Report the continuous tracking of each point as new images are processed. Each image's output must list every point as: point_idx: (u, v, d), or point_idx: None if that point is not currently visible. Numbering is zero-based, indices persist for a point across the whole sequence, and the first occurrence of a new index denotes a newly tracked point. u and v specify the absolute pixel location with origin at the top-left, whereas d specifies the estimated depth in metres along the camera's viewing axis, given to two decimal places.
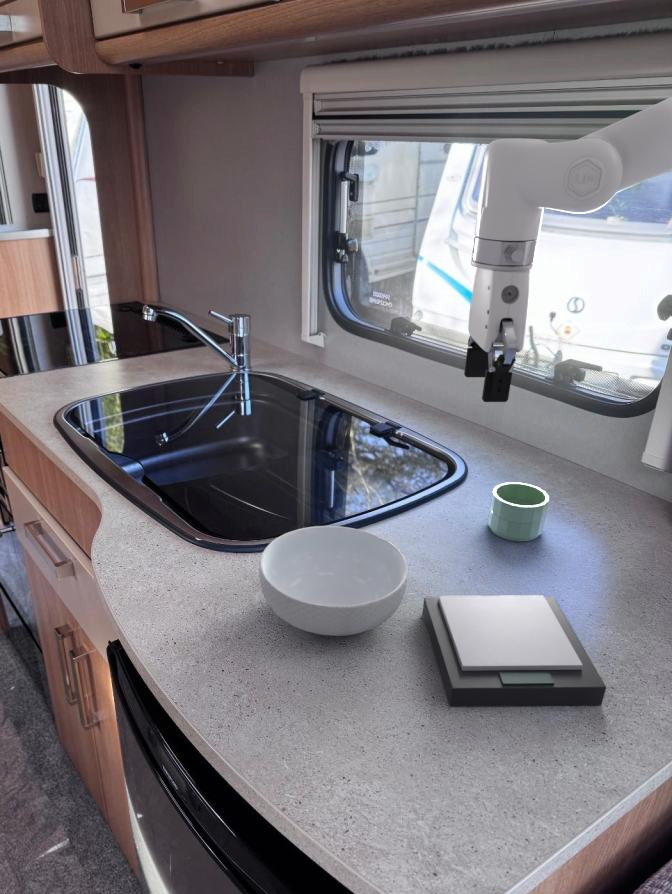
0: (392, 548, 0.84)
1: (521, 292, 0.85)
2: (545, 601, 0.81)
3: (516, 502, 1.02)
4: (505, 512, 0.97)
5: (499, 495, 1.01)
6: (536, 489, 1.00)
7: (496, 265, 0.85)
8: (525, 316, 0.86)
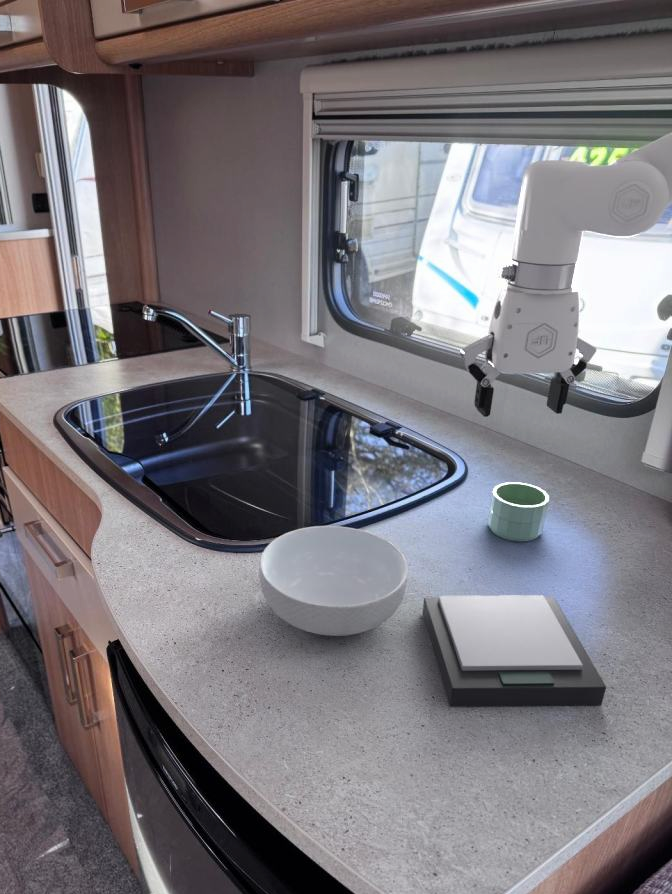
0: (392, 547, 0.84)
1: (502, 310, 0.86)
2: (545, 601, 0.81)
3: (516, 502, 1.02)
4: (505, 512, 0.97)
5: (499, 495, 1.01)
6: (536, 489, 1.00)
7: (507, 281, 0.87)
8: (501, 335, 0.87)
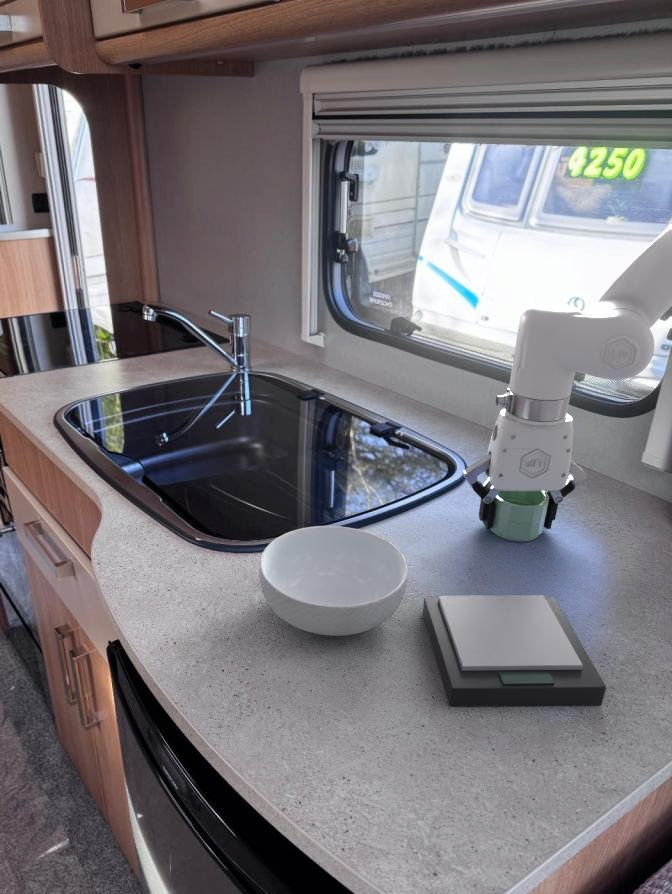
0: (392, 548, 0.84)
1: (498, 434, 0.93)
2: (545, 601, 0.81)
3: (516, 502, 1.02)
4: (505, 512, 0.97)
5: (499, 495, 1.01)
6: None
7: None
8: (496, 457, 0.93)
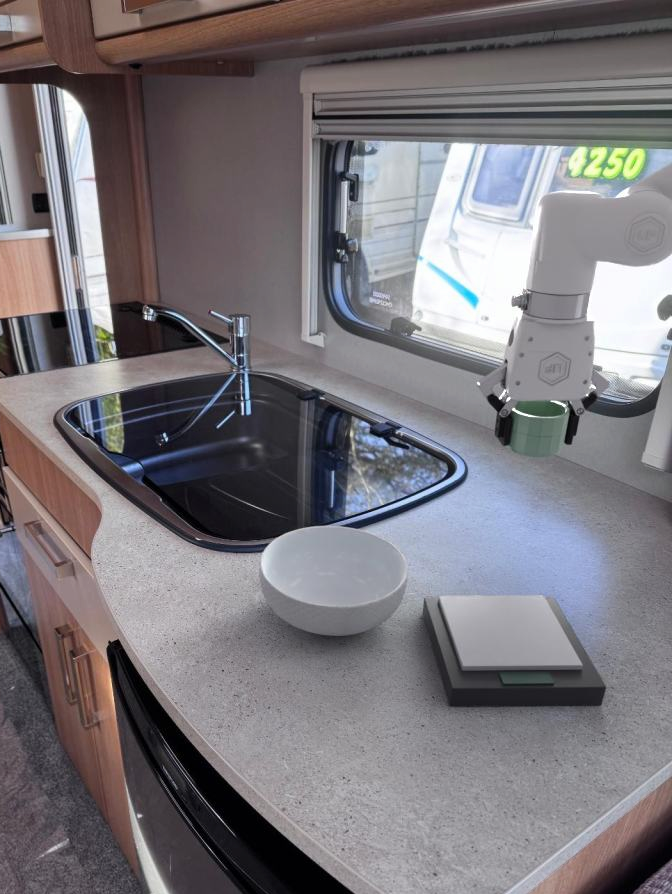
0: (392, 548, 0.84)
1: (514, 338, 0.87)
2: (545, 601, 0.81)
3: None
4: (523, 425, 0.91)
5: None
6: (555, 403, 0.94)
7: None
8: (513, 363, 0.87)
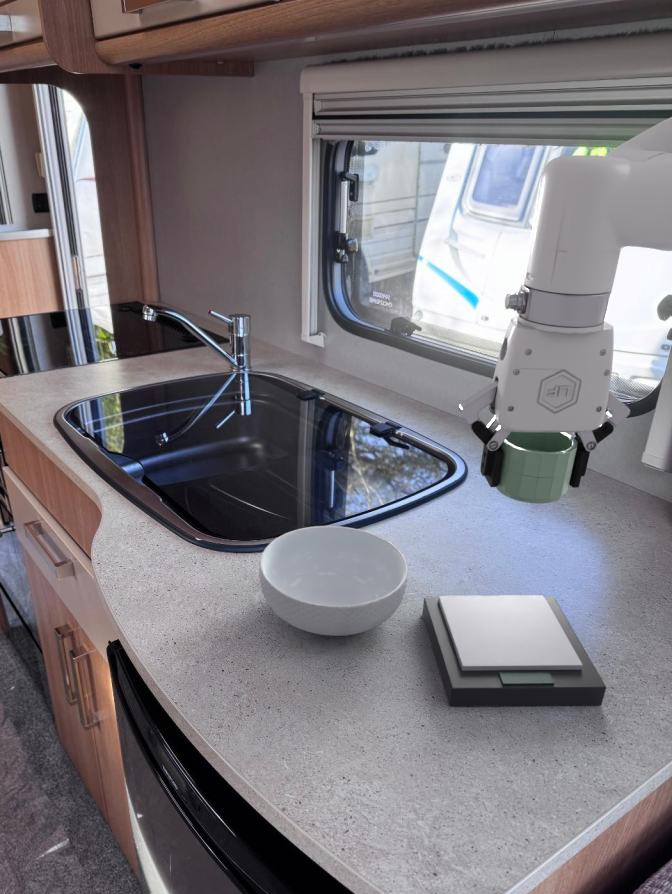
0: (392, 548, 0.84)
1: (508, 350, 0.66)
2: (545, 601, 0.81)
3: None
4: (516, 461, 0.70)
5: (508, 442, 0.75)
6: (559, 433, 0.73)
7: None
8: (505, 383, 0.67)
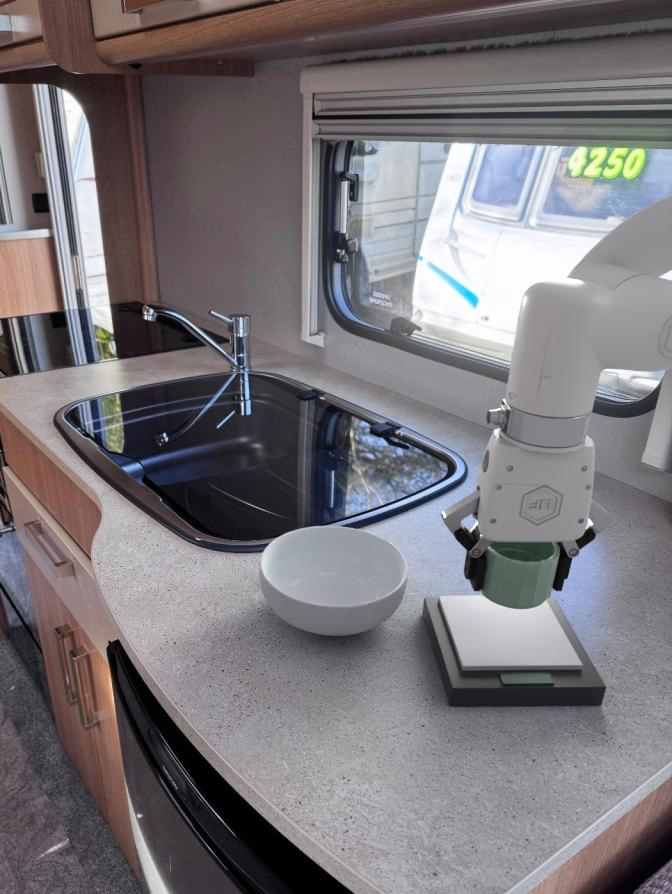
0: (392, 548, 0.84)
1: (489, 465, 0.66)
2: (545, 601, 0.81)
3: (515, 552, 0.76)
4: (499, 569, 0.70)
5: (492, 543, 0.75)
6: None
7: None
8: (487, 496, 0.67)
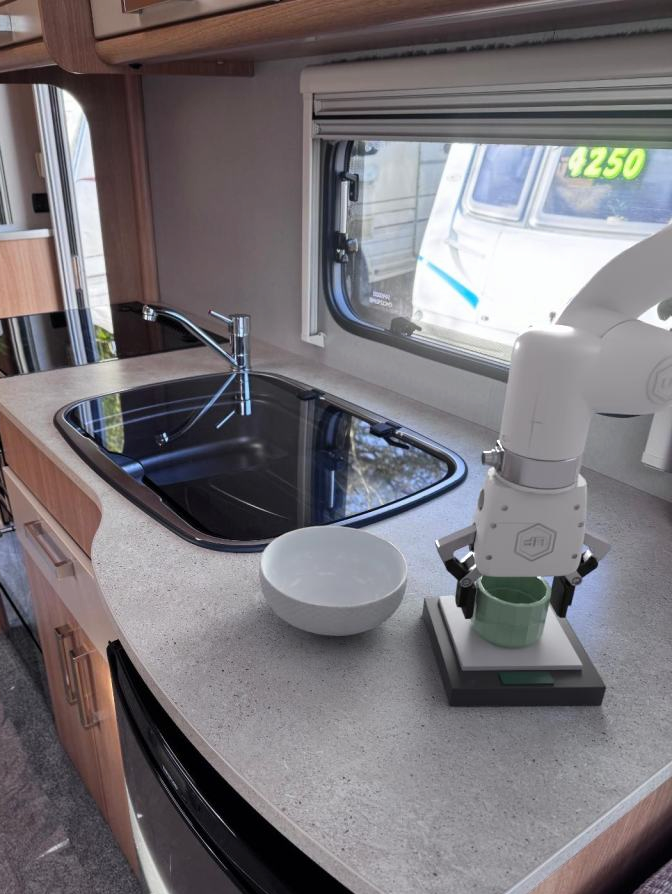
0: (392, 548, 0.84)
1: (485, 504, 0.68)
2: None
3: (508, 591, 0.78)
4: (492, 610, 0.73)
5: (485, 583, 0.77)
6: None
7: None
8: (483, 534, 0.69)
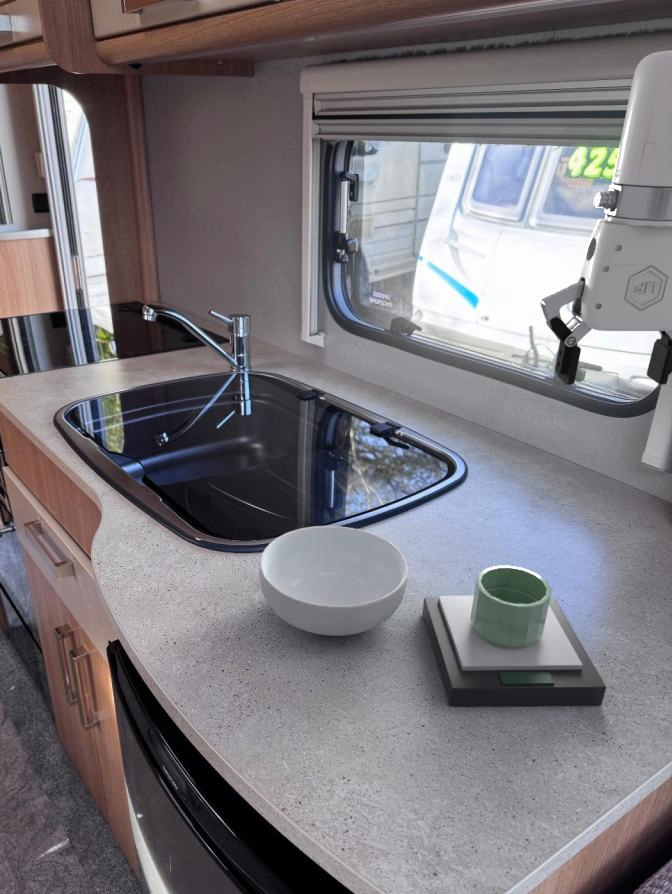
0: (392, 548, 0.84)
1: (597, 248, 0.69)
2: None
3: (508, 591, 0.78)
4: (492, 610, 0.73)
5: (485, 583, 0.77)
6: (534, 576, 0.76)
7: (606, 213, 0.70)
8: (594, 280, 0.69)
